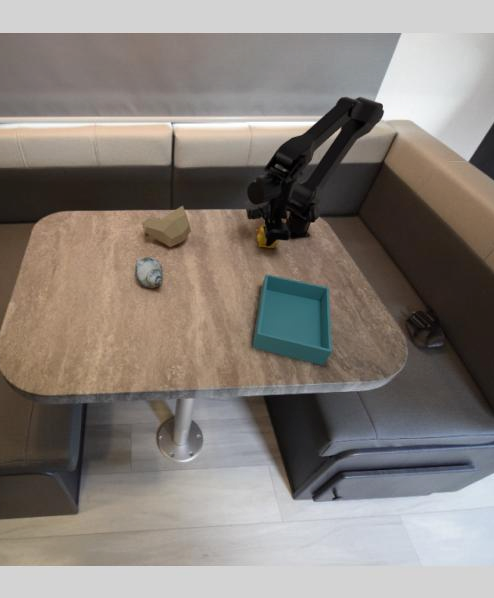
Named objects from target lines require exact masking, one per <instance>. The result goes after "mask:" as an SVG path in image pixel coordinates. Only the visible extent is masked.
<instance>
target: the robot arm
mask: <svg viewBox="0 0 494 598" xmlns="http://www.w3.org/2000/svg"><path fill="white" fill-rule="evenodd" d="M384 114H385V110H384V105H383V103H381V102H378V101H375V100H372V99H369V98H366V97H362V96H358V97H356V98H352V97H348V96H342V97H340V98H339V99H338V100H337V101H336V103H335V105H334V106H333V107H332V108H331V109H330V110H328V111H327V112H326V113H325V114H324V115H322V117H321V118H319V119H318V121H316V122H315V123H314V124H313V125H312V126H311V127H310V128H308V129H306V131H305V132H303V133H302V134H301V135H296V136H293V137H291V138H289V139H288V140H286V141H285V142H283V143H281V145H280V146H279V147H278V148H277V149H276V151H275V152H274V153H273V155H272V157H271V158H270V159H269V161H268V163H267V164H266V165H265V167H264V168H263V171H264V172H265V173H267V174H264V175H258V176H256V178H255V180H254V181H252V182H251V183H250V184H249V185H248V186H247V190H246V195H247V198H248V200H247V201H245V203H244V204H245V205H244V206H245V211H246V212H245V213H246V218H247V220H252V221H253V220H258V219H261V218H262V220H263V221H264V225H266V226H263V225H262V226H263V229H264V233H265V238H266V246H270V245H272V244H273V243H274V242H275V241H276V240H279V241H289V240H290V239H292V240H293V239H301V238H306V237H307V238H308V237H310V236H311V233H310V232H308V231H309V229H310V226H311V224H312V223H313V224H314V223H316V221H317V220H318V219H319V218H320V216H321V213H322V212H321V210H320V208H319V204H320V203H321V202H322V195H323V189H324V187H325V186H326V184H327V183H328V181H329V180H330V179H331V178H332V176H333V174H334V173H335V171H337V169H338V167H339V166H340V164H341V163H342V162H343V161H344V159H345V158H346V156H347V155H348V153H349V152H350V150H351V149H352V148H353V146H354V144H355V143H356V142H357V140H359V139H361V138H362V137H364V136H366V135H367V134H370V133H371V132H372V130H373V129H374V128H375V127H376V125H377V124H379V123H380V122H381V120H382V118H383V116H384ZM338 131H339V132H338ZM336 132H338V134H337V135H336V137H335V138H334V139H333V141H332V143H331V144H330V145H329V146H328V149H327V150H326V151H325V152H324V155H322V157H321V159H320V160H319V162H318V163H317V165H315V168H313V171H312V172H311V173H310V175H309V176H308V178H307V179H306V180H305V181H303V182H301V183H300V182H297V181H298V178H301V177H303V176H304V175H305V174H304V172H303V171H304V170H305V169H306V168H307V166H309V164H310V163H311V162H312V161H313V157H314V154H315V152H316V151H317V150H318V149H319V148H320V147H321V146H322V145H323V144H324V143H325V142H326V141H327V140H328V139H330V138H331V137H332V136H333V135H334V134H336ZM277 166H278V167H280V168H278V167H277ZM281 168H282V169H283V170H282V169H281ZM288 212H289V214H288ZM283 220H285V222H283Z"/></svg>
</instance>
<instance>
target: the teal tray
mask: <svg viewBox="0 0 494 598" xmlns="http://www.w3.org/2000/svg"><path fill="white" fill-rule="evenodd" d="M330 299H331V297H330V287H329V286H324V285H320V284H316V283H315V284H314V283H310V282H305V281H301V280H295V279H291V278H285V277H281V276H276V275H272V274H265V276H264V279H263V282H262V285H261V288H260V295H259V302H258V308H257V314H256V321H255V328H254V335H253V341H252V347H251V348H253V349H256V350H259V351H264V352H268V353H272V354H275V355H280V356H284V357H288V358H292V359H295V360H300V361H304V362H308V363H312V364H316V365H320V366H324V365H325V364H326V363H327V361H328V359H329V358H330V356H331V354H332V352H333V344H332V343H333V342H332V324H331V322H332V321H331V320H332V319H331V301H330Z"/></svg>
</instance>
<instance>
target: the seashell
mask: <svg viewBox="0 0 494 598" xmlns="http://www.w3.org/2000/svg"><path fill="white" fill-rule="evenodd" d="M135 278H136V280H137V282H138V283H139V284H140V285H141V286H142V287H143V288H147V289H154V288H156V287H158V286H161V285H162V284H163V266H162V265H161V263H160V262H159V260H158V259H156V258H155V257H152V256H145V257H143V258H137V259H136V261H135Z"/></svg>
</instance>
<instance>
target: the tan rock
mask: <svg viewBox="0 0 494 598" xmlns="http://www.w3.org/2000/svg"><path fill="white" fill-rule="evenodd" d="M141 224H142V229H143V233H144V238H145V239H147V238H148V237H151V238H153V239H154V240H156V241H158V242H161V243H162V244H163V245H166V246H167V247H170V248H171V247H173V246H174V247H175V246H176V245H179V244H182V243H183V242H184V240H186V238H187V237H188V236H189V235H190V233H191V232H192V228H191V225H190V222H189V218H188V215H187V212H186V210H185V208H184V205H181V206H179V207H178V208H176V209H174V210H173V211H172V212H170V213H168V214H167V215H165V216H164V217H162V218H159V217H156V216H152V215H151V216H149V217H146V219H145V220H144V221H143V222H142V223H141Z"/></svg>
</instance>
